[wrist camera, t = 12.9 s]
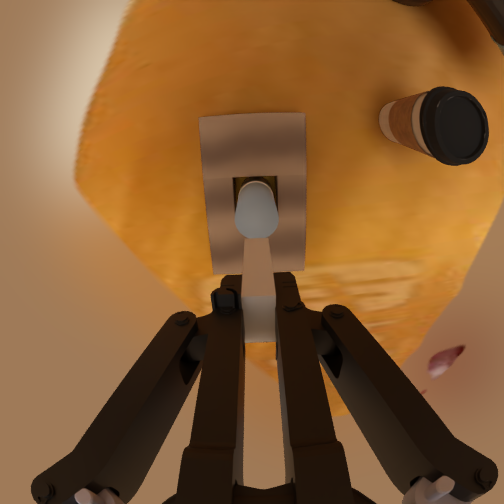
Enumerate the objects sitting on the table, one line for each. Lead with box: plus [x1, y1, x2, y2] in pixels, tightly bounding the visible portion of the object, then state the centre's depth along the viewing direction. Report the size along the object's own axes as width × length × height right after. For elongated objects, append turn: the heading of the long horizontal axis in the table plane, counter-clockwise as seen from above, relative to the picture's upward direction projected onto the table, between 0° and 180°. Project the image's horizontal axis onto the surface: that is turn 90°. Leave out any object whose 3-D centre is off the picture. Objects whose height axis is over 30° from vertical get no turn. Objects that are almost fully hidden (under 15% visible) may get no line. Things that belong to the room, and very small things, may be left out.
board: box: [199, 113, 306, 274], centre depth 34 cm, size 20×12×4 cm, turn 3°
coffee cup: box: [379, 86, 489, 166], centre depth 25 cm, size 8×8×15 cm
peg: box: [235, 176, 279, 239], centre depth 31 cm, size 4×4×12 cm
